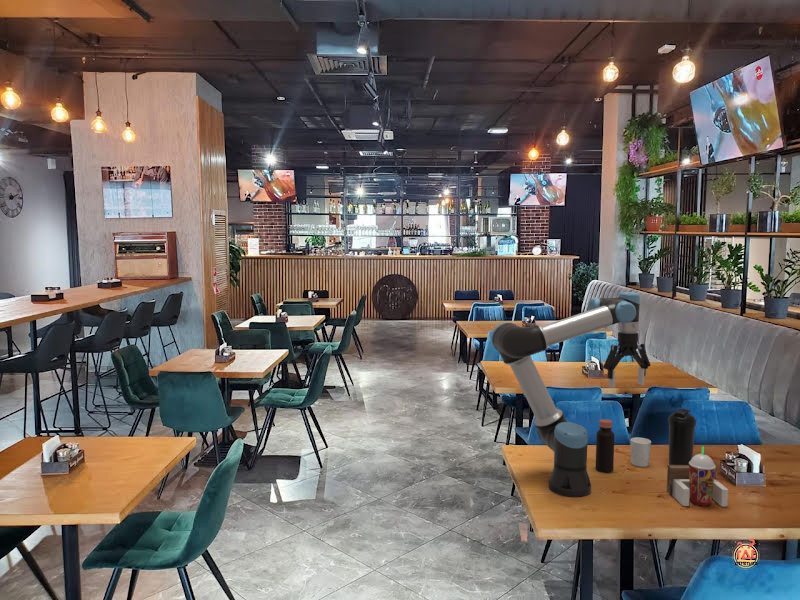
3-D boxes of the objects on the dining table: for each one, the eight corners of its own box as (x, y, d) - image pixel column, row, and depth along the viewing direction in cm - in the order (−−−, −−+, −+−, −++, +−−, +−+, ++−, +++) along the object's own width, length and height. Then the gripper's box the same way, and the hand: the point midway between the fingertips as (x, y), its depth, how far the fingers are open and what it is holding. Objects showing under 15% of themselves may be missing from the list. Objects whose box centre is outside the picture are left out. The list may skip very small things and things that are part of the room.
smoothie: (712, 509, 207) (715, 452, 205) (685, 504, 211) (688, 448, 209) (714, 500, 214) (717, 445, 212) (688, 495, 218) (691, 441, 216)
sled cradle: (727, 506, 209) (728, 489, 208) (683, 506, 209) (683, 489, 209) (714, 495, 218) (715, 479, 217) (672, 495, 218) (672, 479, 218)
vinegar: (591, 469, 244) (593, 420, 242) (602, 465, 248) (603, 417, 246) (606, 474, 239) (608, 424, 237) (616, 470, 243) (618, 421, 241)
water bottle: (697, 465, 248) (700, 410, 246) (689, 472, 240) (691, 415, 238) (671, 459, 255) (674, 406, 253) (662, 466, 247) (665, 410, 245)
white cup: (653, 467, 246) (654, 443, 245) (633, 467, 246) (634, 443, 245) (646, 460, 254) (646, 437, 253) (626, 460, 254) (627, 437, 253)
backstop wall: (715, 495, 218) (716, 468, 218) (669, 494, 219) (671, 467, 218) (711, 492, 221) (712, 465, 221) (666, 491, 222) (667, 464, 221)
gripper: (607, 334, 229) (605, 390, 231) (661, 331, 237) (659, 385, 238) (594, 332, 236) (593, 385, 238) (647, 329, 244) (646, 381, 246)
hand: (626, 385), depth 238 cm, fingers open, 13 cm apart
